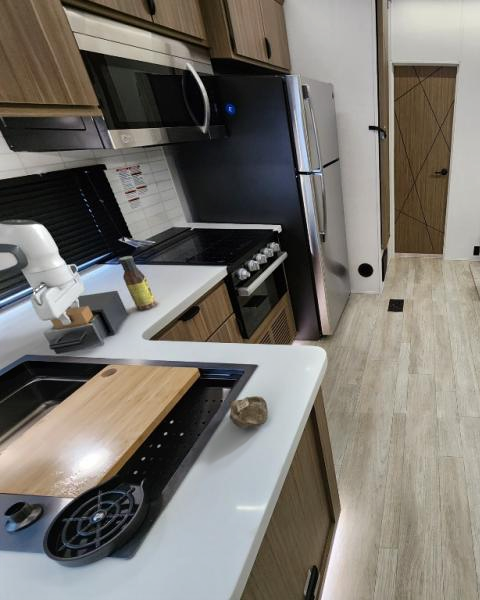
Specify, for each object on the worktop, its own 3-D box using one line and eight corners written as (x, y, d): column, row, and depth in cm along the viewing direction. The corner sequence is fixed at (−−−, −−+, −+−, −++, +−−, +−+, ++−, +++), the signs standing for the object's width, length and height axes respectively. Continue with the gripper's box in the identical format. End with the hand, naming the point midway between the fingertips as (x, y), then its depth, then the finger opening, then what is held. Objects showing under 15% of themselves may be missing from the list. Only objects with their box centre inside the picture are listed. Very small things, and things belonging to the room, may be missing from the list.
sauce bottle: (160, 305, 127) (140, 256, 118) (142, 312, 123) (120, 262, 113) (151, 301, 130) (131, 253, 121) (133, 308, 126) (111, 258, 116)
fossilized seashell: (224, 404, 78) (228, 439, 71) (234, 383, 76) (240, 418, 69) (255, 404, 83) (262, 437, 76) (266, 385, 81) (274, 417, 74)
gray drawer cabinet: (115, 334, 110) (102, 309, 105) (67, 342, 106) (52, 317, 101) (127, 313, 122) (117, 290, 117) (85, 320, 117) (72, 297, 113)
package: (56, 329, 98) (49, 318, 96) (63, 321, 102) (57, 310, 100) (87, 324, 100) (81, 313, 98) (93, 316, 104) (88, 305, 102)
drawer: (97, 354, 98) (85, 332, 95) (48, 364, 95) (34, 341, 91) (116, 324, 113) (107, 304, 110) (75, 331, 110) (63, 311, 106)
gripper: (46, 289, 86) (71, 333, 93) (78, 262, 103) (97, 301, 109) (14, 293, 84) (42, 338, 91) (52, 266, 101) (73, 305, 107)
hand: (72, 318), depth 100 cm, fingers closed on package, 5 cm apart
